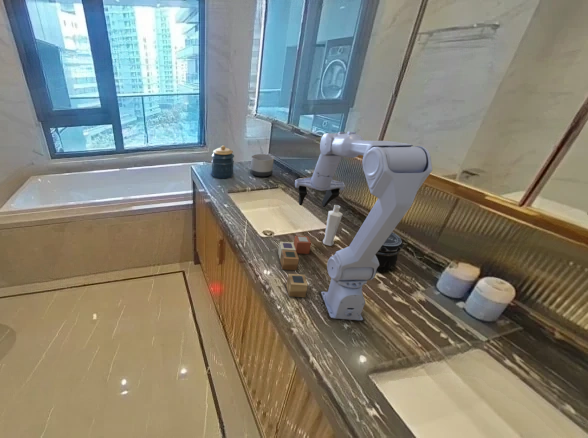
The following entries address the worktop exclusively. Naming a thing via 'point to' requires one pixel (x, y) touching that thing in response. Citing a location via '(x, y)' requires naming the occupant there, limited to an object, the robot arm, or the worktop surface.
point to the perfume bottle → (332, 225)
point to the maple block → (296, 285)
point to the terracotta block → (302, 244)
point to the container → (389, 252)
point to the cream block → (285, 247)
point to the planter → (262, 165)
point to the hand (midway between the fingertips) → (311, 204)
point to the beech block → (289, 260)
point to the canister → (222, 163)
